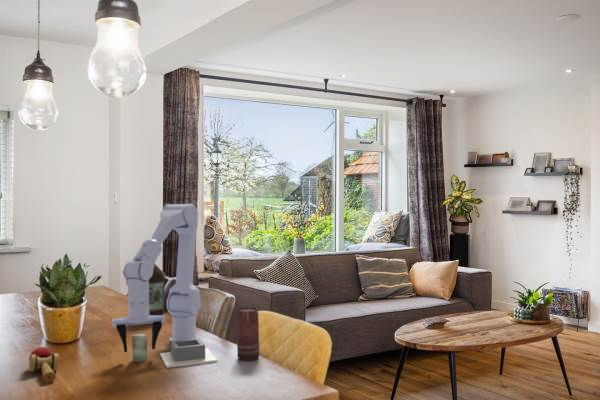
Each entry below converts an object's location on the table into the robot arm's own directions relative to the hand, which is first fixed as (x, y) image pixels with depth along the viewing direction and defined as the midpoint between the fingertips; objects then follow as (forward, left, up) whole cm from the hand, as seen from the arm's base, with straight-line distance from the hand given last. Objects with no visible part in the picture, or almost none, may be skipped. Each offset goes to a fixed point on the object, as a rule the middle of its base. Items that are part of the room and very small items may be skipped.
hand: (139, 349), depth 170 cm
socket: (+4, +13, -3) cm, 14 cm away
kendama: (+3, -25, -3) cm, 25 cm away
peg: (0, 0, -3) cm, 3 cm away
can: (+11, +29, -3) cm, 31 cm away
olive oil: (-56, +9, -3) cm, 57 cm away
